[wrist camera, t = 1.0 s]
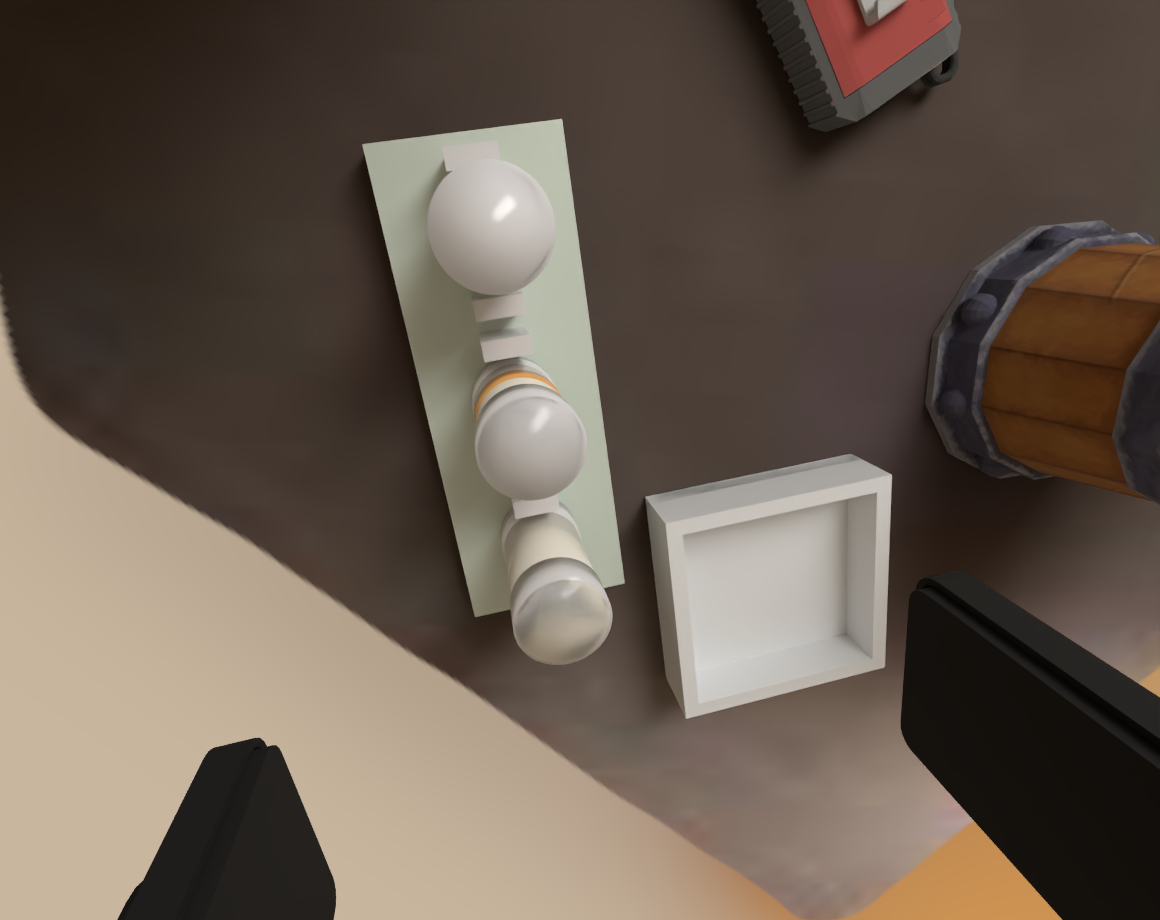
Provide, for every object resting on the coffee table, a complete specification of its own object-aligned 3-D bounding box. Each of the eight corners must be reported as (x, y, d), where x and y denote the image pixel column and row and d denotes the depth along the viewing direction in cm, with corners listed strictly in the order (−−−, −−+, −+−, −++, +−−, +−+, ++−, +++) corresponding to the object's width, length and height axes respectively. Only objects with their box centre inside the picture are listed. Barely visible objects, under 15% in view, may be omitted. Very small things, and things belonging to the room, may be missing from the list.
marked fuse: (464, 363, 27) (464, 404, 20) (547, 349, 28) (579, 383, 20) (480, 443, 28) (487, 510, 21) (560, 428, 29) (594, 488, 21)
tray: (645, 496, 32) (665, 523, 29) (850, 453, 34) (891, 474, 31) (665, 677, 37) (686, 719, 33) (848, 632, 38) (884, 667, 35)
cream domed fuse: (428, 194, 25) (413, 168, 17) (520, 181, 25) (544, 150, 18) (448, 290, 26) (442, 304, 19) (535, 276, 26) (564, 284, 19)
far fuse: (493, 505, 29) (504, 590, 22) (569, 489, 30) (605, 567, 22) (507, 573, 31) (522, 674, 23) (580, 557, 31) (617, 651, 24)
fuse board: (367, 150, 25) (349, 129, 21) (556, 126, 26) (574, 101, 22) (474, 601, 33) (476, 652, 28) (618, 569, 34) (640, 614, 29)
